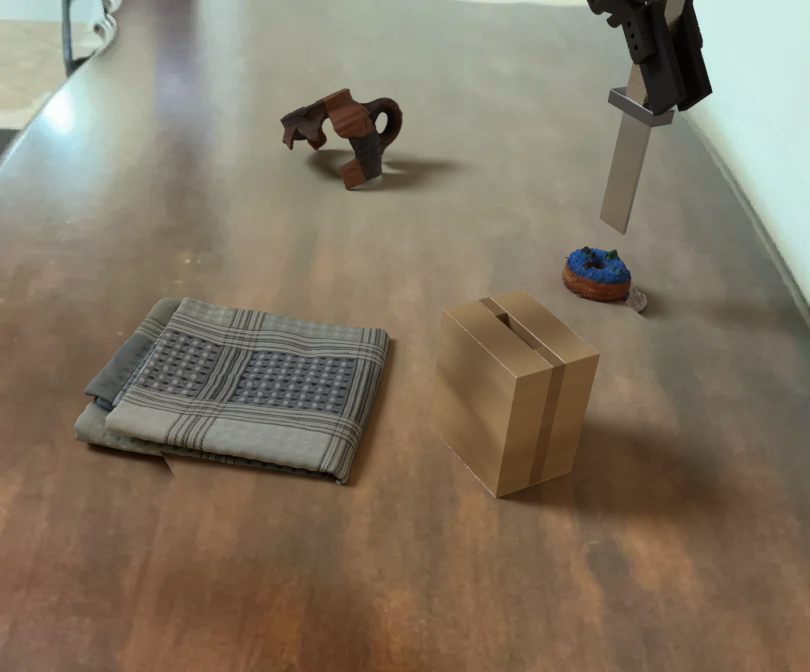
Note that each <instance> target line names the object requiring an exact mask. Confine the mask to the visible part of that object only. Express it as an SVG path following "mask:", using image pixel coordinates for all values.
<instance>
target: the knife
mask: <svg viewBox="0 0 810 672" xmlns="http://www.w3.org/2000/svg"><path fill="white" fill-rule="evenodd" d="M656 1H660V2H661V5H662V9H663V12H664V15H665V18H666V22H667V26H668V29H669V33H670V36H671V40H672V43H673V46H674V42H675V38H676V34H677V30H678V26H679V22H680V18H681V14H682V10H683V6H684V2H685V0H648V1H647V2H646V7H647V6H648V5H649V4H650V3H651V2H656ZM608 93H609V94H608V98H607V103H608V104H610V105H611V106H613V107H615V108H617V109H618V110H620V111H622V116H621V120H620V124H619V129H618V134H617V138H616V142H615V147H614V152H613V156H612V159H611V164H610V169H609V174H608V177H607V182H606V188H605V191H604V196H603V200H602V205H601V209H600V213H599V217H598V218H599V220H601V221H602V222H604V223H605V224H607V225H608V226H610V227H611V228H612V229H613V230H615V231H616V232H618V233H619V234H621V235H622V236H625V235H626V234H627V229H628V226H629V222H630V218H631V213H632V209H633V206H634V201H635V198H636V193H637V190H638V186H639V182H640V178H641V174H642V170H643V165H644V161H645V157H646V153H647V150H648V145H649V143H650V138H651V133H652V129H653V128H656V127H661V126H667V125H672V123H673V120H674V116H675V112H676V110H675V109H674V108H673V107H672V108H671V109H669V110H668V111H667V112H665V113H664V114H662V115H658V116H653V112H652V109H651V105H650V102H649V98H648V95H647V91H646V88H645V84H644V81H643V77H642V74H641V70H640V67H639V65H635V64H634V62H633V61H632V64H631V68H630V73H629V77H628V82H627V85H626V86H621V87H613V88H610V89H609V92H608Z"/></svg>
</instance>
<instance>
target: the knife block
mask: <svg viewBox="0 0 810 672" xmlns="http://www.w3.org/2000/svg"><path fill="white" fill-rule="evenodd" d="M437 349H438V350H437V359H436V368H435V374H434V375H435V377H434V386H433V394H432V403H431V412H430V420H429V421H430V422H429V428H430V429H431V431H433V432H434V433H435V435H436V436H438V438H439V439H440V440H441V441H442V442H444V444H445V446H447V447H448V448H449V450H450V451H451V452H452V453H453V454H454V455H455V456H456V458H458V459H459V460H460V462H462V464H463V465H464V466H465V467H466V468H467V469H468V470H469V471H470V472H471V474H472V475H473V476H474V477H475V478H476V479H477V481H479V482H480V484H482V485H483V487H484V488H485V489H486V490H487V491H488V493H489V494H491V495H492V497H494V498H495V499H497V498H500V497H503V496H506V495H509V494H512V493H515V492H517V491H520V490H523V489H526V488H528V487H531V486H534V485H538V484H540V483H543V482H546V481H549V480H551V479H554V478H557V477H560V476H563V475H566V474H569V473H571V472H572V470H573V466H574V462H575V458H576V453H577V449H578V445H579V441H580V439H581V438H580V437H581V434H582V433H581V432H582V429H583V425H584V421H585V417H586V413H587V409H588V406H589V401H590V396H591V393H592V388H593V384H594V381H595V377H596V373H597V368H598V365H599V361H600V356H601V353H600V352H599V351H598V350H597V349H596V348H594V347H593V346H592V345H590V344H589V342H587V341H586V340H585V339H584V338H582V337H581V336H580V335H578V333H576V332H575V331H574V330H573V329H571V328H570V327H569V326H568V325H566V324H565V323H564V321H562V320H560V319H559V317H557V316H556V315H554V314H553V313H552V312H551V311H550V310H548V309H547V308H546V307H545V306H544V305H543V304H541V303H540V302H539V301H538V300H536V298H534V297H533V296H531V294H529V293H528V292H527V291H526V290H525V289H523V288H521V289H517V290H513V291H508V292H505V293H501V294H496V295H493V296H490V297H483V298H481V299H476V300H472V301H468V302H463V303H460V304H457V305H456V304H455V305H452V306H448V307H444V308H442V312H441V321H440V330H439V340H438V348H437Z"/></svg>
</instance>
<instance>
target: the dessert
mask: <svg viewBox="0 0 810 672" xmlns="http://www.w3.org/2000/svg"><path fill="white" fill-rule="evenodd" d="M565 259H566V261H565V263H564V266H563V268H562V272H561V275H562V276H561V277H562V278H561V280H563V281H564V282H563V285H564V287H565V289H566V290H567V291H568V292H569V293H572V294H573V296H574V297H575V298H576V297H577V298H583V299H586V300H590V301H593V302H600V303H610V304H611V303H616V302H619V301H622V302H623V303H624V304H626V305H627V306H628V307H630V308H631V309H632V310H633V311H635V312H636V313H637V314H638V313H640V312H641V311H643V310H644V308H646V306H647V305H648V299H647V296H646V295H645V293H643V292H640V291H639V290H638V289H637V288H636V286H635V284H634V281H632V274H631V270H630V269H628V268H627V265H626V264H625V262H624V260H622V259H621V258H620V256H619V255H618V250H617V249H616V248H615V249H612V250H609V251H608V250H605V249H604V250H603V249H599V248H595V247H589V246H588V245H585V246H583V247H582V248H577V249H575V250H574V251H572V252H570V253H569V256H565ZM641 285H642V284H641V283H639V286H641Z"/></svg>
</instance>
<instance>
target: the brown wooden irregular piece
mask: <svg viewBox="0 0 810 672" xmlns="http://www.w3.org/2000/svg"><path fill="white" fill-rule="evenodd" d="M382 113H383V114H386V124H385V127H384V129H383V130H382V132H379V131H378V129H377V125H376V122H377V120H378V118H379V116H380V115H381V114H382ZM403 116H404V113H403V111H402V109H401V108H400V105H399V104H398V102H397V101H395V99H392V98H391V97H378V98H376V99H373V100H371V101H369V102H358V101H357V100H355V99H354V98H353V96H352V94H351V89H350V88H345V87H344V88H342V89H339V90H338V91H335V92H332V93H331V94H329V95H326V96H325V97H323V98H320V99H318V100H315V102H313V103H311V104H308V105H306V106H301V107H300V108H296V109H295V110H293V111H291V112H289V113H287V114H285V115H283V117H282V118H280V119H279V122H280V123H281V124H282V127H283V129H284V132H283V136H282V140H281V142H282V143H283V144H285V145H286V146H287V148H288V149H289V150H290V151H292V150H293V149H294V142H295V141H299V142H301V141H306V142H307V144H308V145H309V146H310V147H311V149H313V150H314V151H318V150H319V149H320V148H322V147H323V146H325V144H327V141H328V137H327V134H326V133H325V132H324V130H323V125H324V122H325V121H326V120H327V119H329V120H330V122H331V125H332V128H333V131H334V133H336V135H337V136H338V137H340V138H341V139H345V140H348V142H349V145H350V146H351V149H352V150H353V152H354V158H352V159H351V160H350V161H347V162H346V163H344V164H342V165H340V166H339V167H338V172H339V175H340V176H341V178H342V180H343V184H344V188H345V189H346V190H350V189H352V188H356V187H358V186H361V185H362V184H364V183H366V182H368V181H371V180H372V179H376V178H378V177H379V176H381V175H382V174H383V155H384V153H385V151H386V149H388V147H389V146H390V145H391V144H393V143H394V141H396V139H397V138H398V137H399V135H400V134H401V133H400V132H401V130H402V128H403V121H404V120H403Z"/></svg>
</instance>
